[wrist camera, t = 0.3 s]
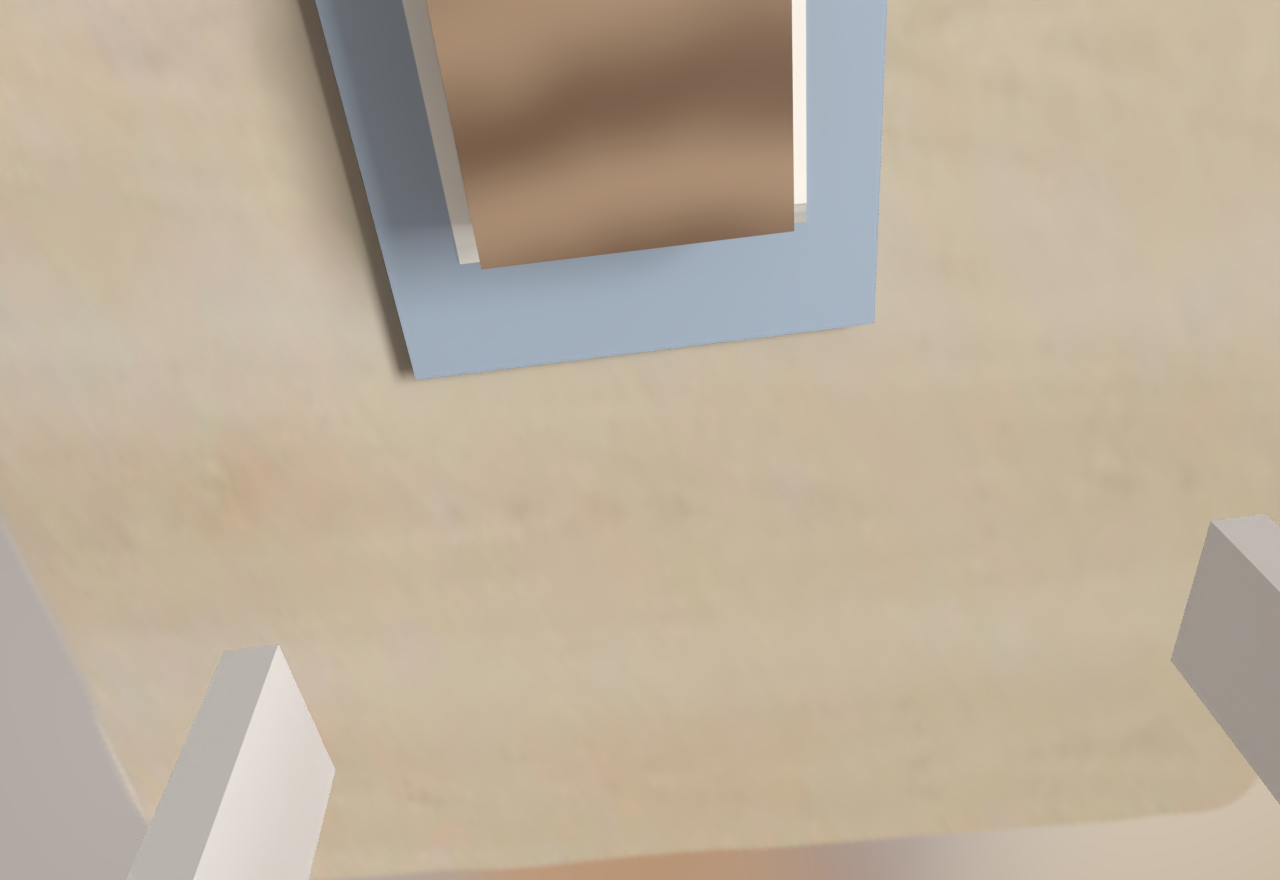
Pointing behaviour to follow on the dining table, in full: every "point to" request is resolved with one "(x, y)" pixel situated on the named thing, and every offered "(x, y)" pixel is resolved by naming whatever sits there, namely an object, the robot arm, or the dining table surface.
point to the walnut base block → (618, 122)
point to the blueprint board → (620, 282)
